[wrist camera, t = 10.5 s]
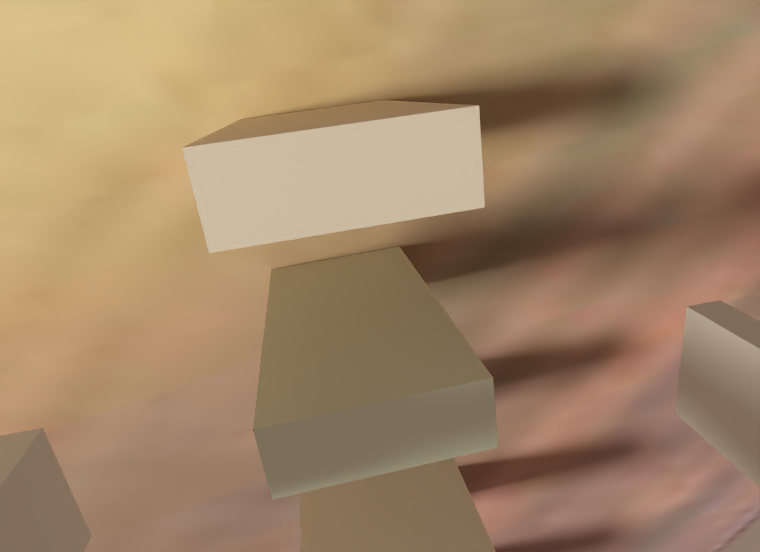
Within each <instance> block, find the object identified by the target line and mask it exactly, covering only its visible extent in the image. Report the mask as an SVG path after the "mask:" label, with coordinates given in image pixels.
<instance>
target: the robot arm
mask: <svg viewBox="0 0 760 552" xmlns="http://www.w3.org/2000/svg"><path fill="white" fill-rule="evenodd" d="M675 413H676V414H677V415H678V416H679V417H680V418H681V419H682V420H684V421H685V422H686V423H687V424H688V425H689V426H690V427H691V428H693V429H694V430H695V431H696V432H697V433H698V434H699V435H701V436H702V437H703V438H704V439H705V440H706V441H707V442H709V443H710V444H711V445H712V446H713V447H714V448H715V449H716V450H718V451H719V452H720V453H721V454H722V455H723V456H724V457H726V458H727V459H728V460H729V461H730V462H731V463H732V464H734V465H735V466H736V467H737V468H738V469H739V470H740V471H741V472H743V473H744V474H745V475H746V476H747V477H748V478H749V479H751V480H752V481H753V482H754V483H755V484H756V485H757V486H759V487H760V321H759V320H757V319H755V318H753V317H751V316H749V315H747V314H745V313H743V312H741V311H739V310H738V309H736V308H734V307H732V306H730V305H728V304H726V303H724V302H722V301H720V300H719V301H714V302H709V303H704V304H698V305H693V306H688V307H687V311H686V320H685V329H684V338H683V346H682V355H681V364H680V373H679V382H678V390H677V399H676V408H675ZM90 537H91V534H90V531H89V529H88V527H87V525H86V523H85V520H84V518H83V516H82V514H81V512H80V509H79V507H78V505H77V503H76V501H75V498H74V496H73V494H72V492H71V489H70V487H69V485H68V483H67V481H66V478H65V476H64V474H63V472H62V470H61V467H60V465H59V463H58V461H57V459H56V456H55V454H54V452H53V450H52V447H51V445H50V443H49V441H48V439H47V436H46V434H45V432H44V430H43V428H40V429H35V430H29V431H24V432H19V433H13V434H8V435H3V436H0V552H84V550H85V548H86V546H87V543H88V541H89V539H90Z"/></svg>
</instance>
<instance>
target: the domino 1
mask: <svg viewBox="0 0 760 552" xmlns="http://www.w3.org/2000/svg"><path fill="white" fill-rule="evenodd" d="M182 149H183V153H184V157H185V161H186V165H187V169H188V173H189V177H190V180H191V184H192V188H193V192H194V196H195V200H196V204H197V208H198V212H199V216H200V220H201V223H202V227H203V231H204V235H205V239H206V243H207V247H208V251H209V253H213V252H219V251H225V250H231V249H237V248H243V247H249V246H255V245H261V244H267V243H273V242H279V241H285V240H291V239H297V238H303V237H310V236H316V235H322V234H328V233H334V232H340V231H346V230H352V229H358V228H364V227H370V226H376V225H382V224H388V223H394V222H400V221H406V220H412V219H418V218H424V217H430V216H436V215H442V214H448V213H454V212H460V211H467V210H473V209H479V208H485V203H484V185H483V166H482V148H481V130H480V112H479V105H463V104H445V103H427V102H408V101H390V100H379V101H372V102H365V103H358V104H350V105H343V106H336V107H329V108H321V109H314V110H307V111H300V112H293V113H285V114H278V115H271V116H264V117H256V118H249V119H242V120H238V121H236V122H234V123H232V124H230V125H228V126H226V127H224V128H222V129H220V130H218V131H216V132H213V133H211V134H209V135H207V136H205V137H203V138H201V139H199V140H197V141H195V142H193V143H191V144H189V145H187V146H185V147H183V148H182Z"/></svg>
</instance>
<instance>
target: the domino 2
mask: <svg viewBox="0 0 760 552" xmlns="http://www.w3.org/2000/svg"><path fill="white" fill-rule="evenodd" d="M253 431H254V434H255V438H256V442H257V445H258V449H259V453H260V457H261V460H262V464H263V468H264V471H265V475H266V479H267V482H268V486H269V490H270V493H271V497H272V499H276V498H281V497H285V496H289V495H294V494H298V493H302V492H307V491H311V490H315V489H320V488H324V487H329V486H333V485H337V484H342V483H346V482H350V481H355V480H359V479H363V478H368V477H372V476H377V475H381V474H385V473H390V472H394V471H398V470H403V469H407V468H411V467H416V466H420V465H424V464H429V463H433V462H438V461H442V460H446V459H451V458H455V457H459V456H464V455H468V454H472V453H477V452H481V451H486V450H490V449H494V448H498V440H497V425H496V411H495V396H494V382H493V377H492V376H491V374H490V373H489V371H488V370H487V368H486V367H485V366H484V364H483V363H482V361H481V360H480V359H479V357H478V356H477V354H476V353H475V352H474V350H473V349H472V347H471V346H470V345H469V343H468V342H467V340H466V339H465V338H464V336H463V335H462V333H461V332H460V331H459V329H458V328H457V326H456V325H455V324H454V322H453V321H452V319H451V318H450V317H449V315H448V314H447V312H446V311H445V310H444V308H443V307H442V305H441V304H440V303H439V301H438V300H437V298H436V297H435V296H434V294H433V293H432V291H431V290H430V289H429V287H428V286H427V284H426V283H425V282H424V280H423V279H422V277H421V276H420V275H419V273H418V272H417V270H416V269H415V268H414V266H413V265H412V263H411V262H410V261H409V259H408V258H407V256H406V255H405V254H404V252H403V251H402V249H401V248H400V246H398V247H393V248H387V249H382V250H376V251H371V252H365V253H360V254H354V255H349V256H343V257H338V258H333V259H327V260H322V261H316V262H311V263H305V264H300V265H294V266H289V267H283V268H278V269H272V270H271V277H270V286H269V295H268V303H267V312H266V321H265V330H264V338H263V347H262V356H261V365H260V373H259V382H258V391H257V400H256V408H255V417H254V426H253Z"/></svg>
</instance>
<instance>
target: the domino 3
mask: <svg viewBox="0 0 760 552" xmlns="http://www.w3.org/2000/svg"><path fill="white" fill-rule="evenodd" d="M300 522H301V552H496V551H495V549H494V547H493V544H492V542H491V540H490V538H489V536H488V533H487V531H486V529H485V527H484V524H483V522H482V520H481V518H480V515H479V513H478V511H477V509H476V507H475V504H474V502H473V500H472V498H471V495H470V493H469V491H468V489H467V486H466V484H465V482H464V480H463V477H462V475H461V473H460V471H459V469H458V466H457V464H456V462H455V460H454V458H451V459H446V460H442V461H438V462H433V463H429V464H424V465H420V466H416V467H411V468H407V469H403V470H398V471H394V472H390V473H385V474H381V475H377V476H372V477H368V478H363V479H359V480H355V481H350V482H346V483H342V484H337V485H333V486H329V487H324V488H320V489H315V490H311V491H307V492H302V493H300Z"/></svg>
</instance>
